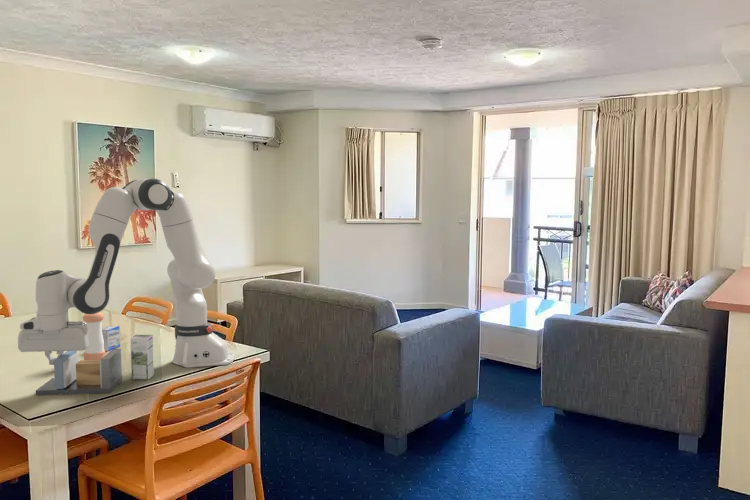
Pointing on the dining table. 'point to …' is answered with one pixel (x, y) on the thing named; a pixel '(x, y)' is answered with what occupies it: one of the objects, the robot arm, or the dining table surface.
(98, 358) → the pepper shaker
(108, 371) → the vise
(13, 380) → the dining table surface
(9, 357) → the dining table surface
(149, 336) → the syrup box
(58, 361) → the vise jaw
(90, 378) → the wooden block
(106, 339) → the medicine box
